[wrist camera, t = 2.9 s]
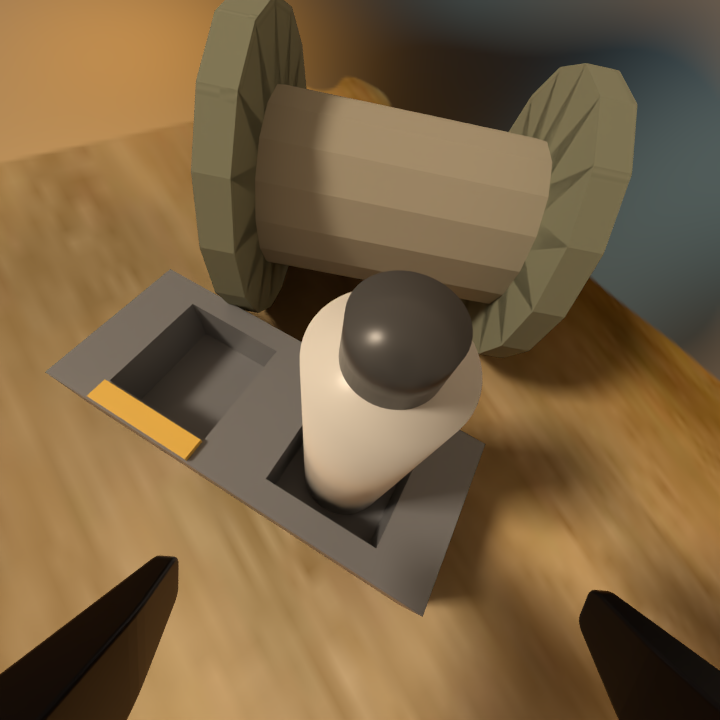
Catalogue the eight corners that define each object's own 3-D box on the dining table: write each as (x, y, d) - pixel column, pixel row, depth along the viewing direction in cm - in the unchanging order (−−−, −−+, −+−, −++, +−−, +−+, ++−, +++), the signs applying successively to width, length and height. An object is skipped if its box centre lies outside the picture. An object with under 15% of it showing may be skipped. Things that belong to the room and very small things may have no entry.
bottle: (398, 456, 20) (539, 297, 8) (361, 531, 18) (475, 475, 6) (332, 417, 20) (365, 214, 8) (288, 485, 18) (248, 346, 6)
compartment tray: (456, 462, 21) (487, 442, 17) (399, 605, 17) (424, 618, 14) (190, 310, 24) (168, 265, 20) (90, 404, 20) (40, 369, 16)
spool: (474, 243, 31) (591, 19, 18) (480, 396, 24) (688, 201, 11) (290, 206, 30) (276, -54, 18) (236, 352, 23) (143, 86, 10)
